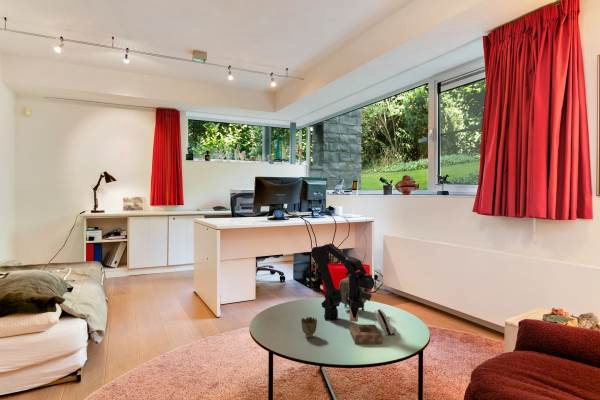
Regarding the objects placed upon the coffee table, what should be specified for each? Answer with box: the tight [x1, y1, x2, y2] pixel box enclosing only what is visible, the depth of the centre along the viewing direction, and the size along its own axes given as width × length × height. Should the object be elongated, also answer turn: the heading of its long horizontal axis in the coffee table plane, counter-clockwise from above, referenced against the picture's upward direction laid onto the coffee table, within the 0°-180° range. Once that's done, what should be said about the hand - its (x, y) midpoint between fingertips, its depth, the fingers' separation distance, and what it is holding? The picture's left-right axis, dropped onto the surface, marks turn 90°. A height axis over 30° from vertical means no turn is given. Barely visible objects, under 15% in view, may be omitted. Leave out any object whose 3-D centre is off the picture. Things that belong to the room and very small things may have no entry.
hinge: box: [374, 308, 397, 336], centre depth 170 cm, size 17×5×10 cm, turn 179°
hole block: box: [349, 324, 383, 345], centre depth 158 cm, size 12×12×4 cm
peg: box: [349, 308, 359, 323], centre depth 171 cm, size 4×4×8 cm
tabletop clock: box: [338, 269, 367, 312], centre depth 195 cm, size 14×9×25 cm, turn 58°
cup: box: [300, 316, 318, 339], centre depth 159 cm, size 8×7×8 cm
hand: (353, 316), depth 171 cm, fingers closed on peg, 4 cm apart
